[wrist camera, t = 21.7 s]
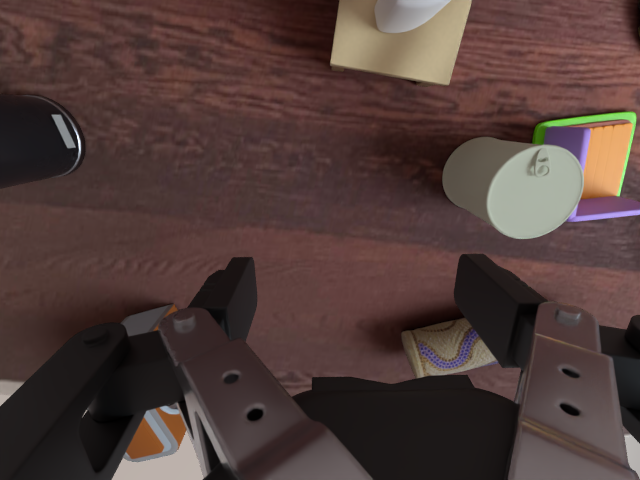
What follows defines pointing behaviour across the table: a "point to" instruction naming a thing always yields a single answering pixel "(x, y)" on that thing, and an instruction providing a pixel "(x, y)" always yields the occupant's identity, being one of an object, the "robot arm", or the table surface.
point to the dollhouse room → (596, 160)
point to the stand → (399, 43)
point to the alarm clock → (160, 423)
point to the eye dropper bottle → (405, 13)
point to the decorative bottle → (445, 349)
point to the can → (514, 184)
